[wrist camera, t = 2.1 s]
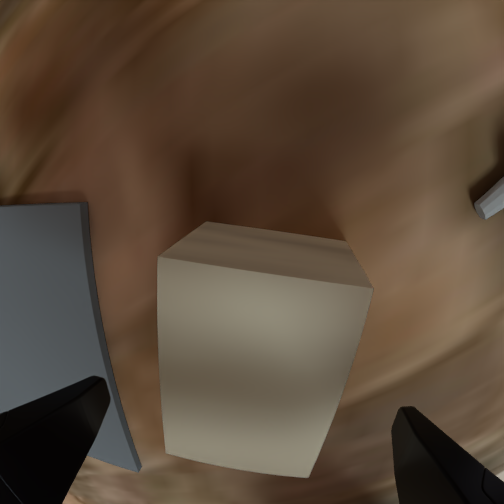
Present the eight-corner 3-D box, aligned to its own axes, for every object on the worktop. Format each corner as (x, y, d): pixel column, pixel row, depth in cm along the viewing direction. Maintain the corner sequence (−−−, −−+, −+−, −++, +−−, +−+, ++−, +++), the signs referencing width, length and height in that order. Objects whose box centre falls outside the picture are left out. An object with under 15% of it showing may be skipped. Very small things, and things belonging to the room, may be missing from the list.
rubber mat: (141, 466, 18) (138, 472, 18) (-16, 399, 20) (-19, 402, 20) (87, 202, 13) (79, 204, 13) (-70, 211, 15) (-75, 212, 15)
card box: (308, 398, 15) (308, 477, 10) (198, 380, 15) (166, 453, 10) (345, 240, 12) (374, 288, 8) (207, 220, 13) (157, 256, 8)
